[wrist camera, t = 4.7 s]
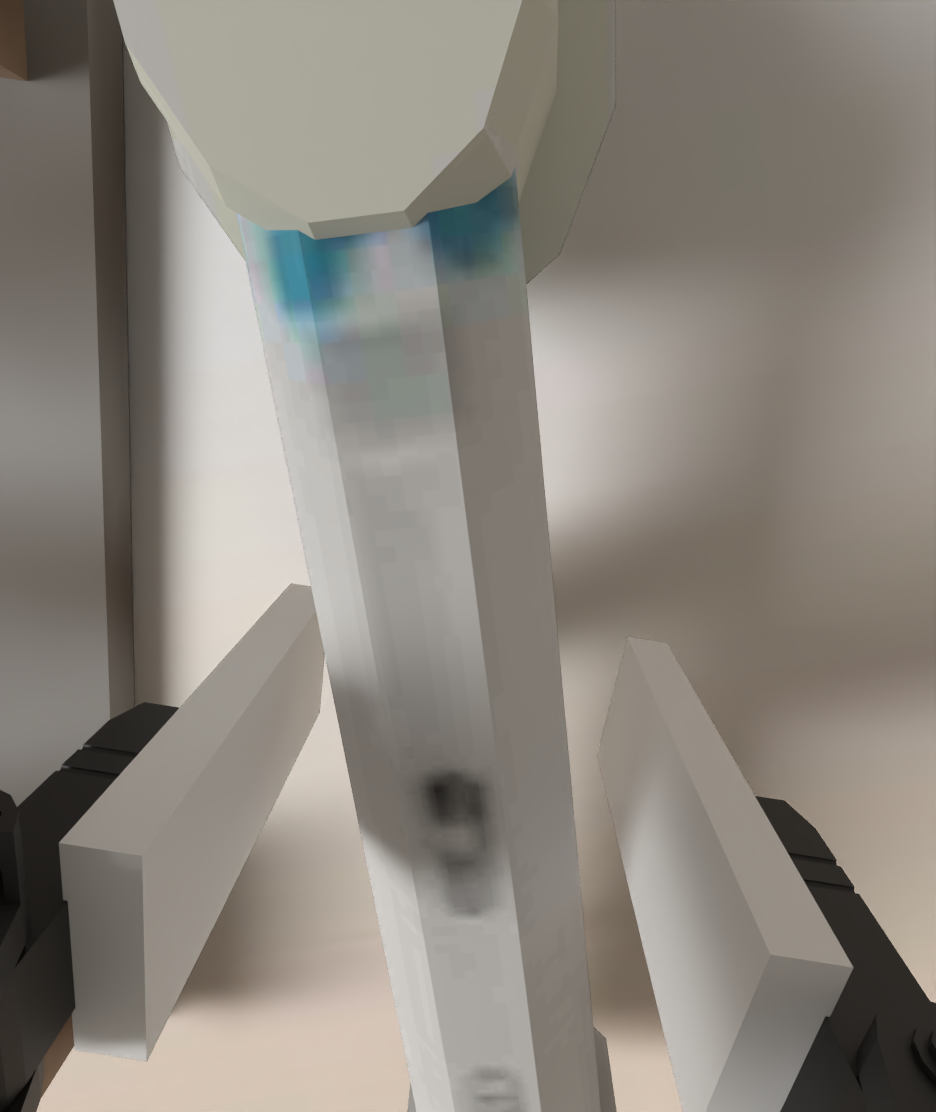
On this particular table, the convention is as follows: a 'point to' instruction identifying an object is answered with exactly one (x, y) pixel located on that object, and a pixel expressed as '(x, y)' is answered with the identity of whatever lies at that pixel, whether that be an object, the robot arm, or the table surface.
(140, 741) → the robot arm
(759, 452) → the table surface
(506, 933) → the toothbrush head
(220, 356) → the table surface
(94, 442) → the cradle
